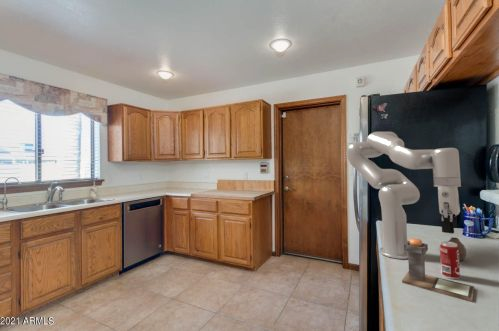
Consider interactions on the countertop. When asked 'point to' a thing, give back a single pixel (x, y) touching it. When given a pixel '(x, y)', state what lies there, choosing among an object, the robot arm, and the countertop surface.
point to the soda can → (449, 260)
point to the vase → (461, 248)
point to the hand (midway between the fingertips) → (449, 229)
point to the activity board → (429, 282)
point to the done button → (416, 242)
